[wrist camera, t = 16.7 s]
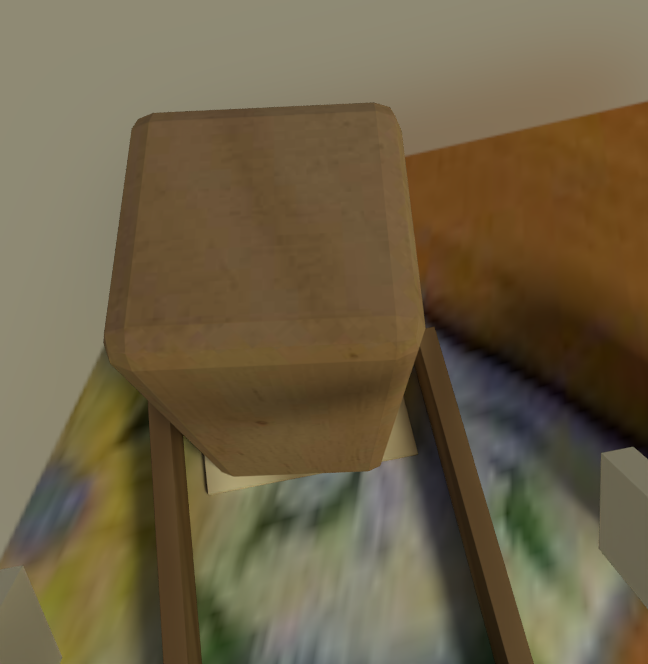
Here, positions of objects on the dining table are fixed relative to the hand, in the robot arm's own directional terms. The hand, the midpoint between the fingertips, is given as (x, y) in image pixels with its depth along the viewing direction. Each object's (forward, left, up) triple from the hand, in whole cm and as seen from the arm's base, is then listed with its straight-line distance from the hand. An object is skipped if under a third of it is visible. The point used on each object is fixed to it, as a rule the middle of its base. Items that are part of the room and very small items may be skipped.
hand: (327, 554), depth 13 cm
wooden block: (0, -11, -21) cm, 24 cm away
